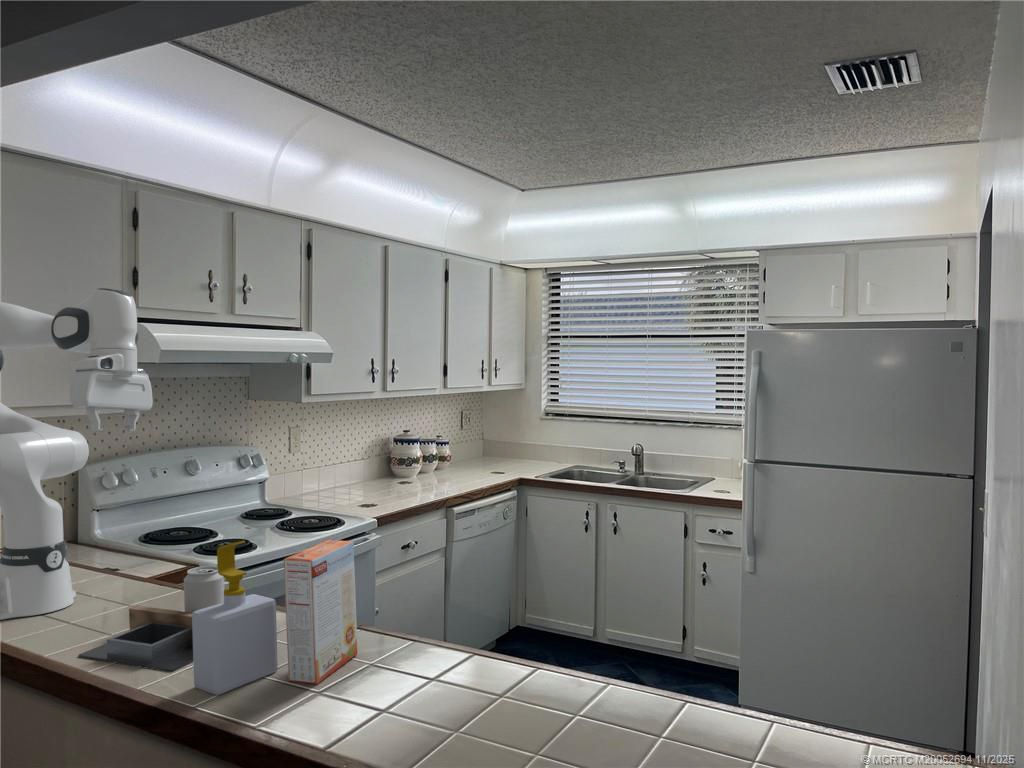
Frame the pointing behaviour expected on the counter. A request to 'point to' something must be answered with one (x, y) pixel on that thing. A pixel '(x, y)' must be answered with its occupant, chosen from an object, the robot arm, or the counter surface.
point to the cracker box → (320, 610)
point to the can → (203, 588)
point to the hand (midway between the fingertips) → (113, 431)
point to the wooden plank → (157, 616)
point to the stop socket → (149, 647)
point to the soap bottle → (233, 634)
